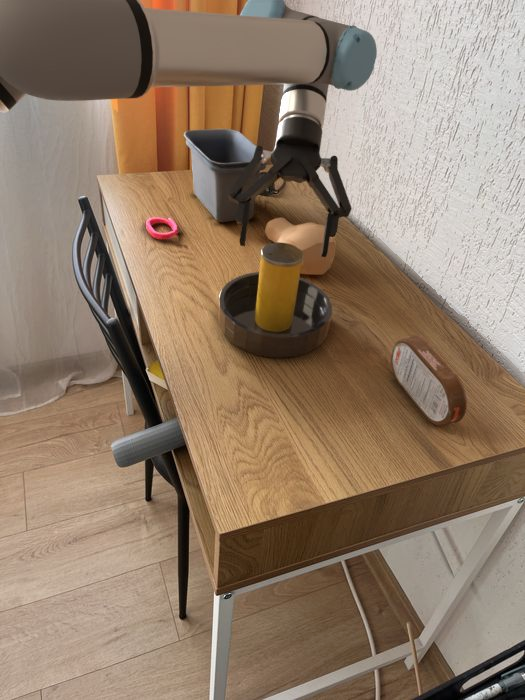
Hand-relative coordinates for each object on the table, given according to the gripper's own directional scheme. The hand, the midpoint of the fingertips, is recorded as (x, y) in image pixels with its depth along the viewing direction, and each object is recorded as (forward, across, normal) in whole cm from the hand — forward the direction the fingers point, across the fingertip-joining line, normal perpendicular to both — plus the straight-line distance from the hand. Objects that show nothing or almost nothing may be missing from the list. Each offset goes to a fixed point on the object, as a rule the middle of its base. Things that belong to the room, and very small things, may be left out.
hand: (283, 249), depth 86 cm
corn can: (+11, 0, -4) cm, 12 cm away
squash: (-4, -2, -20) cm, 21 cm away
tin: (+22, -23, +6) cm, 32 cm away
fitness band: (-7, +26, -23) cm, 36 cm away
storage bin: (-18, +15, -34) cm, 42 cm away
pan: (+12, 0, -4) cm, 12 cm away
